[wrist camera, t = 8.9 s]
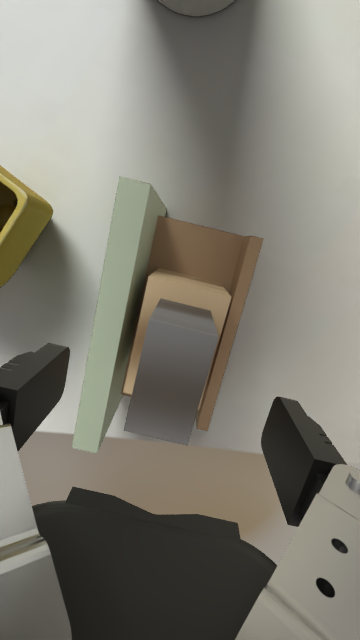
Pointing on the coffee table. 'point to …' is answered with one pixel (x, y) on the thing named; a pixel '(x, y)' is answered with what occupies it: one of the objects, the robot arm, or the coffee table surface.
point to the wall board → (128, 293)
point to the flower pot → (18, 222)
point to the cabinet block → (173, 353)
